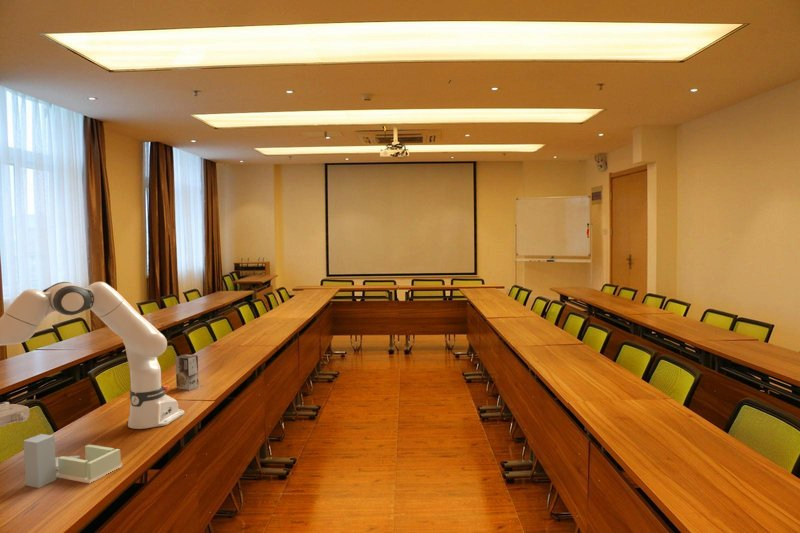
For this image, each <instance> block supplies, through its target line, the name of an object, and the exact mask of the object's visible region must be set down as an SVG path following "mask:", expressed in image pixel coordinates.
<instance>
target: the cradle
mask: <svg viewBox="0 0 800 533" xmlns="http://www.w3.org/2000/svg"><path fill="white" fill-rule="evenodd" d="M84 451H85V452H84V454H85V455H84V457H85V459H81V458H80V459H76V458H71V457H68V456H63V455H61V456H58V457H59V458H58V471H57V472H56V478H59V479H64V480H70V481H76V482H79V483H80V482H81V483H86V484H91V482H92V483H93V481H94V482H95V481H97V480H100V479H102V478H103V477H105V476H107V475H108V473H109V474H110V472H111V473H113V472H115V471H117V470H118V468H119V469H120V468H122V467H123V463H122V459H121V458H122V456H121V449H120V448H116V449H115V448H114V447H107V446H103V445H102V446H101V445H97V444H95V445H94V444H87V445H85V446H84ZM116 469H117V470H116ZM114 470H115V471H114ZM112 471H113V472H112ZM106 474H107V475H106Z"/></svg>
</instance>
